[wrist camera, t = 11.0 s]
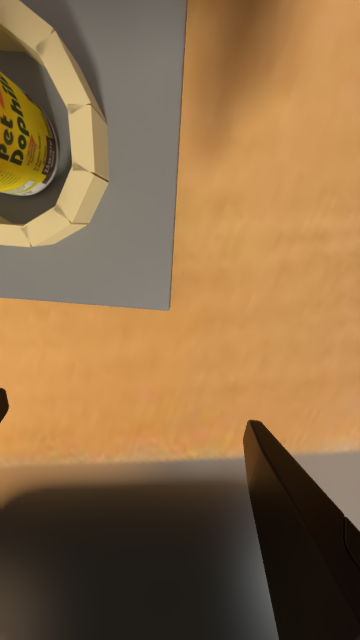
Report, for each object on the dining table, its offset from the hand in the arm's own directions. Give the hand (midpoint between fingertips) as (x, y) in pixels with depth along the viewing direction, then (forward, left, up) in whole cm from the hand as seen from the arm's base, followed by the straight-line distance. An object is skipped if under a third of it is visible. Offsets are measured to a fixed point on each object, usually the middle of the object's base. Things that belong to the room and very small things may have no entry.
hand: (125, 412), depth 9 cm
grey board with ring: (+9, -10, -12) cm, 18 cm away
